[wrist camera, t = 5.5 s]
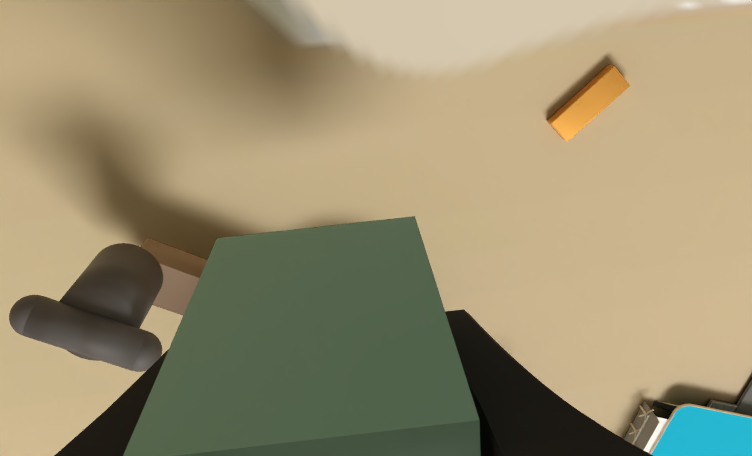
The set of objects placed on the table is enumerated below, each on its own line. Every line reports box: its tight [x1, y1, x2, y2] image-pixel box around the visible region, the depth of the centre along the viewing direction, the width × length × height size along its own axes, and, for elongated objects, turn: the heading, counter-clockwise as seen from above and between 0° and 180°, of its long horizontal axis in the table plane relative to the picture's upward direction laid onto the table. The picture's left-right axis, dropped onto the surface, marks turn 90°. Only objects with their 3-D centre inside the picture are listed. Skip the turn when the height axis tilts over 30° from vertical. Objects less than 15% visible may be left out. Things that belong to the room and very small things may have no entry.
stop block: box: [123, 216, 481, 456], centre depth 10 cm, size 4×4×6 cm
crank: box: [9, 238, 207, 372], centre depth 17 cm, size 11×4×5 cm, turn 65°
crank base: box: [547, 64, 630, 142], centre depth 20 cm, size 14×4×1 cm, turn 135°
